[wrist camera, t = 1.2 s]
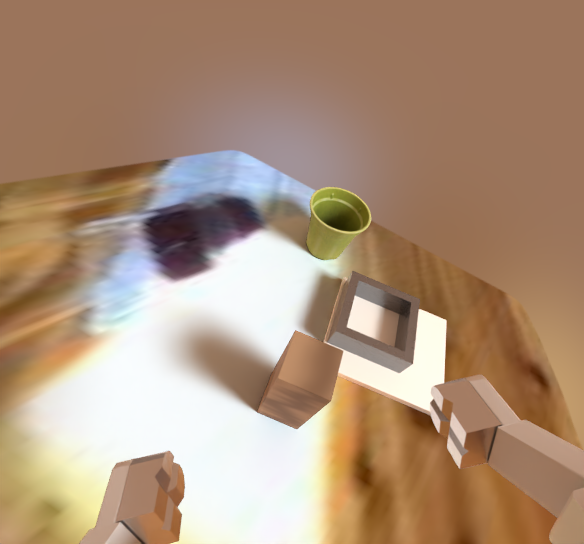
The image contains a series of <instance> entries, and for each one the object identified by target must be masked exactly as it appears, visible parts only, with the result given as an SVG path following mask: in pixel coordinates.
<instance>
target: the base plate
mask: <svg viewBox="0 0 584 544" xmlns="http://www.w3.org/2000/svg"><path fill="white" fill-rule="evenodd" d="M347 279H348V278H345V277H344V278H343V280H342V282H341V285H340V288H339V292H338V295H337V298H336V302H335V305H334V308H333V312H332V315H331V318H330V322H329V325H328V328H327V332H326V335H325V338H324V341H323V342H324V343H326V344H329V343H327V341H328V337H329V334H330V330H331V327H332V324H333V320H334V317H335V313H336V310H337V307H338V303H339V300H340V296H341V293H342V289H343V286H344V283H345V282H346V280H347ZM398 320H399V314H397V313H395V312H393V311H390V310H388V309H386V308H383V307H381V306H379V305H376V304H374V303H372V302H369V301H367V300H364V299H362V298H360V297H357V296H355V297H354V301H353V305H352V309H351V312H350V316H349V320H348V324H347V327H348V328H350V329H353V330H355V331H357V332H360V333H362V334H364V335H367V336H369V337H371V338H374V339H376V340H379V341H381V342H383V343H386V344H388V345H390V346H393V347H395V340H396V333H397V326H398ZM445 344H446V320H444V319H442V318H440V317H437V316H435V315H433V314H430V313H428V312H425V311H423V310H421V309H419V312H418V322H417V331H416V341H415V350H414V360H413V364H412V365H411V366H409V367H408V368H407V369H405V370H404V371H402V372H401V373H397V372H395V371H392V370H390V369H388V368H385V367H383V366H381V365H378V364H376V363H374V362H371V361H369V360H367V359H364V358H362V357H360V356H357V355H355V354H353V353H350V352H348V351H346V350H343V349H341V348H338V347H336V346H334V345H331V344H329V345H331V346H334V347H336V348H338V349H341V350H343V355H342V359H341V363H340V367H339V371H338V375H337V376H339V377H341V378H344V379H346V380H348V381H351V382H353V383H355V384H358V385H360V386H363V387H365V388H367V389H370V390H372V391H374V392H377V393H379V394H381V395H384V396H386V397H388V398H391V399H393V400H395V401H398V402H400V403H402V404H405V405H407V406H409V407H412V408H414V409H416V410H419V411H421V412H423V413H426V414H428V415H430V416H431V413H430V402H431V401H432V400H433V399H434V398H433V397H432V395H431V388H432V387H433V386H435V385H438V384H442V383H444V368H445Z"/></svg>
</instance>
